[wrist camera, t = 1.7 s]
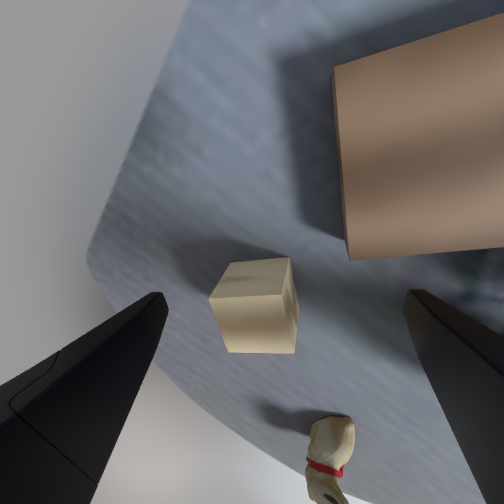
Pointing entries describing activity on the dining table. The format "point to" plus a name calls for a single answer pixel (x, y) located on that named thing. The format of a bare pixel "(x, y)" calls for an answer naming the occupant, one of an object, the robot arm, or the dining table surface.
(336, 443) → the chocolate bunny
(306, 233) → the dining table surface
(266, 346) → the beech cube
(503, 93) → the walnut block
